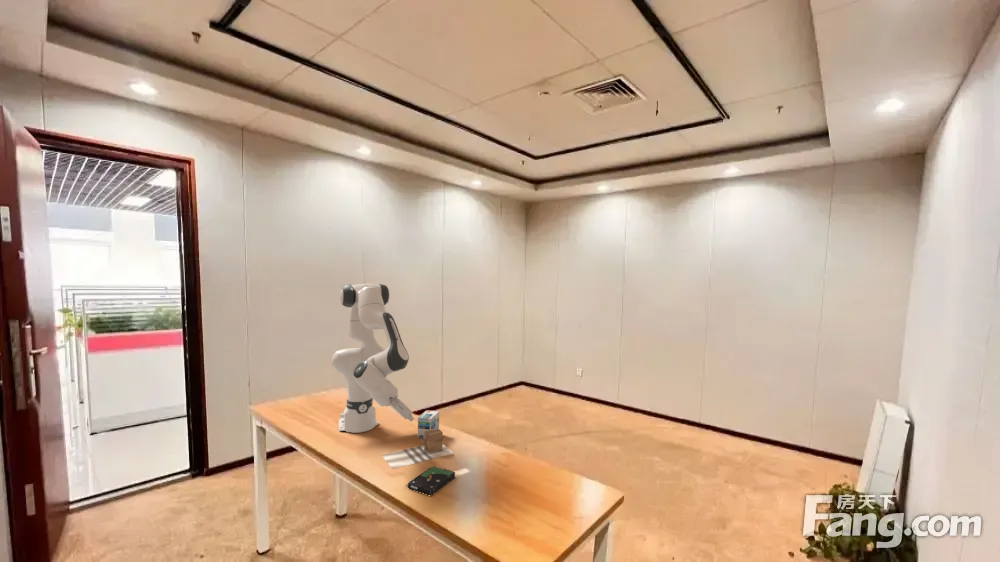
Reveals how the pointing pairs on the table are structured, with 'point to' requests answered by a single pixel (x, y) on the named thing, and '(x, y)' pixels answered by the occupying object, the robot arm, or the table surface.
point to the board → (413, 456)
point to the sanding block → (433, 440)
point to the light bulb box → (427, 422)
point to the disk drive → (431, 480)
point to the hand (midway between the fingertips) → (407, 415)
